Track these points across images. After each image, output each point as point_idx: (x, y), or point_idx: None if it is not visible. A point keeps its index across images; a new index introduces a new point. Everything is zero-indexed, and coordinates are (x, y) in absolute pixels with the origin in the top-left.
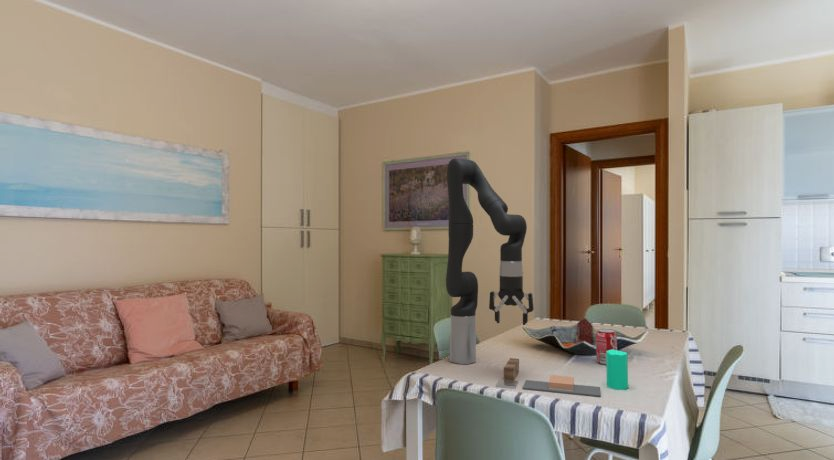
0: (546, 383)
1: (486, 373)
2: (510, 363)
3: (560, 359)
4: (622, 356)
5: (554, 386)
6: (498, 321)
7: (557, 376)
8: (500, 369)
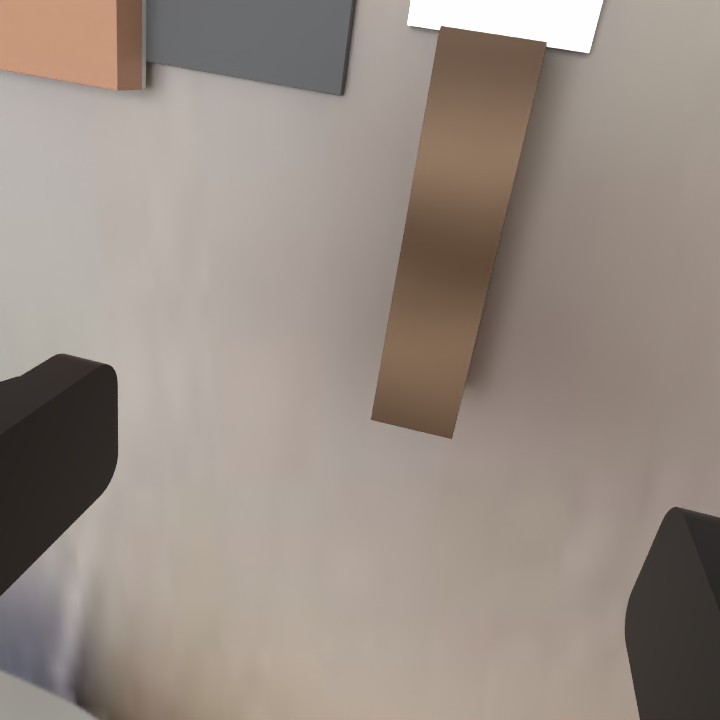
0: (172, 13)
1: (681, 300)
2: (459, 244)
3: (125, 649)
4: None
5: None
6: (692, 522)
7: (59, 48)
8: (538, 424)
